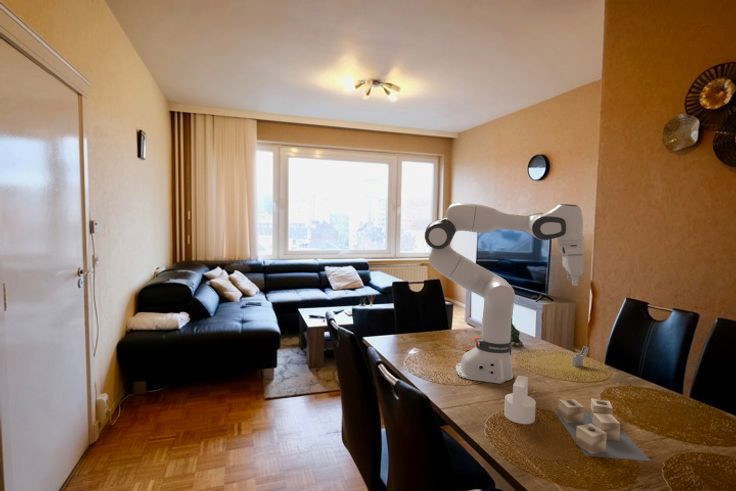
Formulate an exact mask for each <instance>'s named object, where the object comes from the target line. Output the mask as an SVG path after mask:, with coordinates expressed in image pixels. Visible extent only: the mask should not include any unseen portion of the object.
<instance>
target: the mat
mask: <svg viewBox="0 0 736 491" xmlns="http://www.w3.org/2000/svg"><path fill="white" fill-rule="evenodd" d="M553 413H554V414H555V415H556V416H557V418H558V419H559V421H560V422H561V423H562V425H563V426H564V428H565V429H566V431H567V432H568V434H569V435H570V436H571V438H572V439H573V441H574V442H575V443H576V428H577V426H580V425H585V424H590V423H591V424H593V420H592V417H591V414H590V411H589V412H588V411H584V416H583V423H567V422H566V421H564V420H563V419H562V418H561V417H560V416H559V415H558V409H553ZM578 448H580V450H581V452H582V454H584V456H586V457H596V458H597V457H598V458H609V459H619V460H629V461H642V462H652V460H651V459H650V458H649V457H648V456H647V455H646V454H645V453H644V451H642V450H641V449H640V448H639V447H638V445H637V444H635V443H634V441H632V439H630V437H629V436H628V435H627V434H626V433H625V432H624V431H623V430H622V429H621V428H620V438H619V441H615V440H606V451H604V452H600V453H595V454H590V453H589V452H587V451H586V450H584V449H583V448H581V447H580V446H578Z"/></svg>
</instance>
